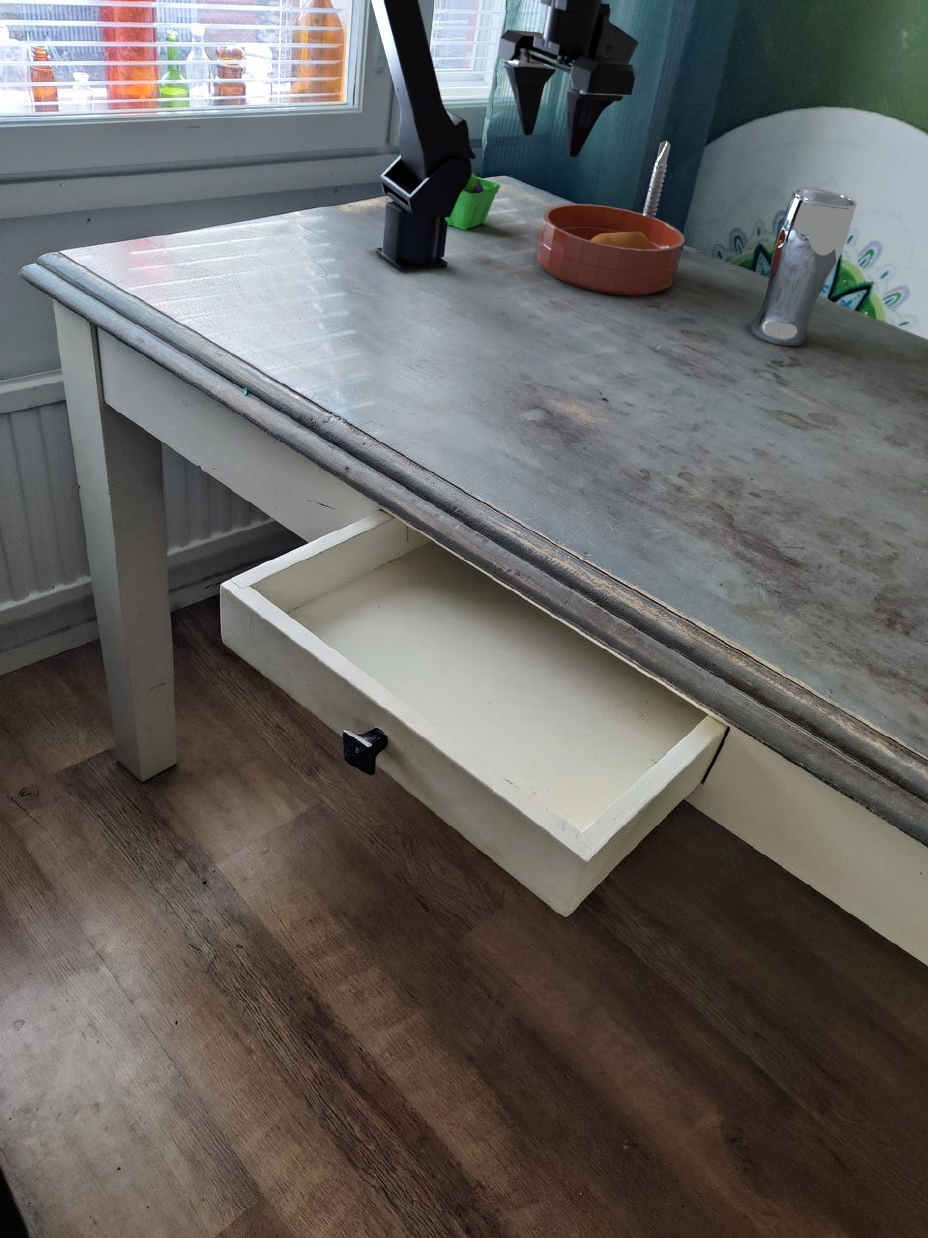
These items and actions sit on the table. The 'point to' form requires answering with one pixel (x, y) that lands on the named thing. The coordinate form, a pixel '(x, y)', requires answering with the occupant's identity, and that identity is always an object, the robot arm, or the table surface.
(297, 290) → the table surface
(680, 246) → the shallow orange pet bowl
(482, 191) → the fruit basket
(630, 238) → the drumstick
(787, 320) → the beer glass
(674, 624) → the table surface
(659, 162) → the screw
